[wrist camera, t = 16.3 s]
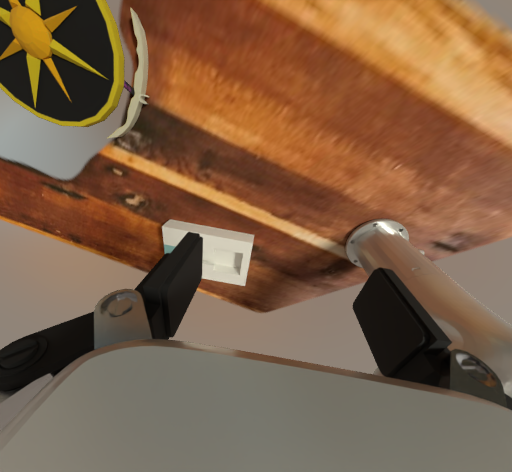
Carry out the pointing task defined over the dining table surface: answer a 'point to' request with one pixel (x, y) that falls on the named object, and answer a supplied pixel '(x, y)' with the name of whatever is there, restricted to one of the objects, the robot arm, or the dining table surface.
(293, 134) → the dining table surface
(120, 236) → the dining table surface
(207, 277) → the keyhole plate
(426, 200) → the dining table surface
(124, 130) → the wall ornament
